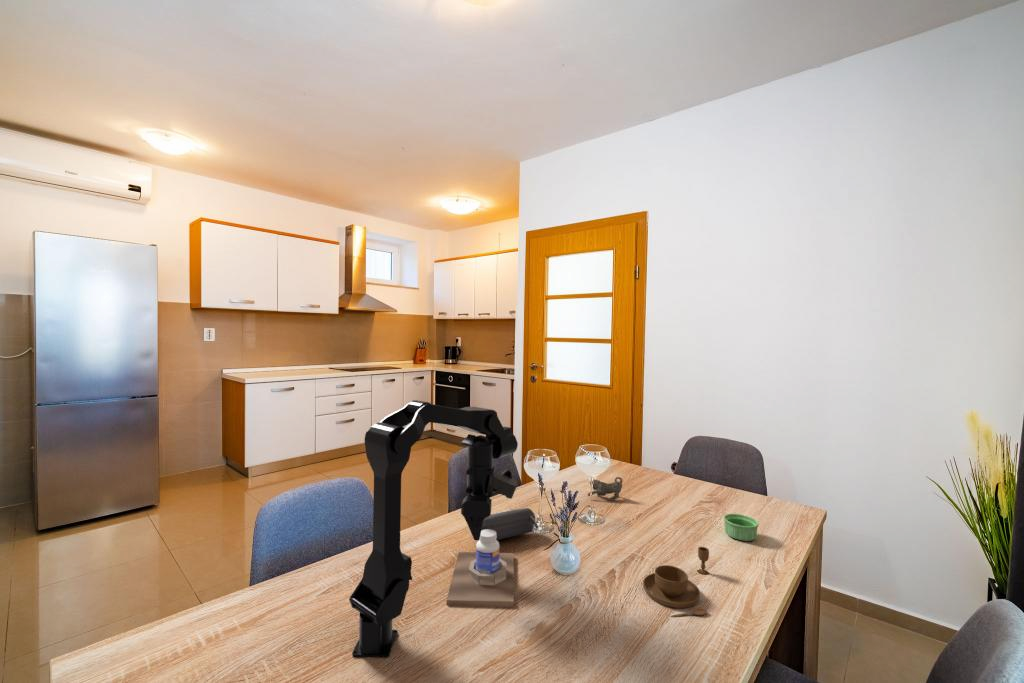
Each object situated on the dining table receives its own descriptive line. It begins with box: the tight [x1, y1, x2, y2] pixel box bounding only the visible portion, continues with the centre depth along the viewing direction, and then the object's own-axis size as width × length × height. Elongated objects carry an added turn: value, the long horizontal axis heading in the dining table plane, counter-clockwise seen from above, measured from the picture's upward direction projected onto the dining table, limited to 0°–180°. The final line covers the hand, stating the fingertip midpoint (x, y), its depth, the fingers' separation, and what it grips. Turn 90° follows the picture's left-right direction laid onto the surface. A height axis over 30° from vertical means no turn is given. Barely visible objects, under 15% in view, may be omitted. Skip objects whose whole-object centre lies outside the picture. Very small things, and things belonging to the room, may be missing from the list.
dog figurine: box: [587, 476, 623, 502], centre depth 154 cm, size 12×6×7 cm, turn 84°
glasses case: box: [481, 507, 539, 541], centre depth 121 cm, size 18×10×8 cm, turn 117°
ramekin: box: [723, 513, 760, 542], centre depth 127 cm, size 9×9×4 cm
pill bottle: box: [475, 529, 500, 574], centre depth 101 cm, size 5×5×10 cm
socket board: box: [446, 551, 515, 608], centre depth 102 cm, size 20×14×3 cm
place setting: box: [642, 546, 710, 618], centre depth 99 cm, size 18×20×6 cm
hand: (478, 530), depth 101 cm, fingers open, 9 cm apart
